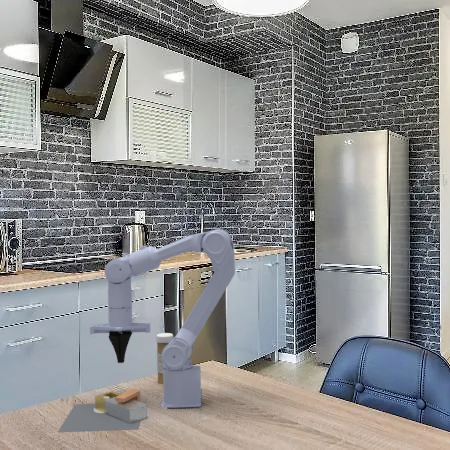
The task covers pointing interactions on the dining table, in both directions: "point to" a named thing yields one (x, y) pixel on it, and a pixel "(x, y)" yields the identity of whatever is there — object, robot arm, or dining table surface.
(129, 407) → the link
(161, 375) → the sprinkles bottle
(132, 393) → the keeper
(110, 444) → the dining table surface
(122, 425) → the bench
